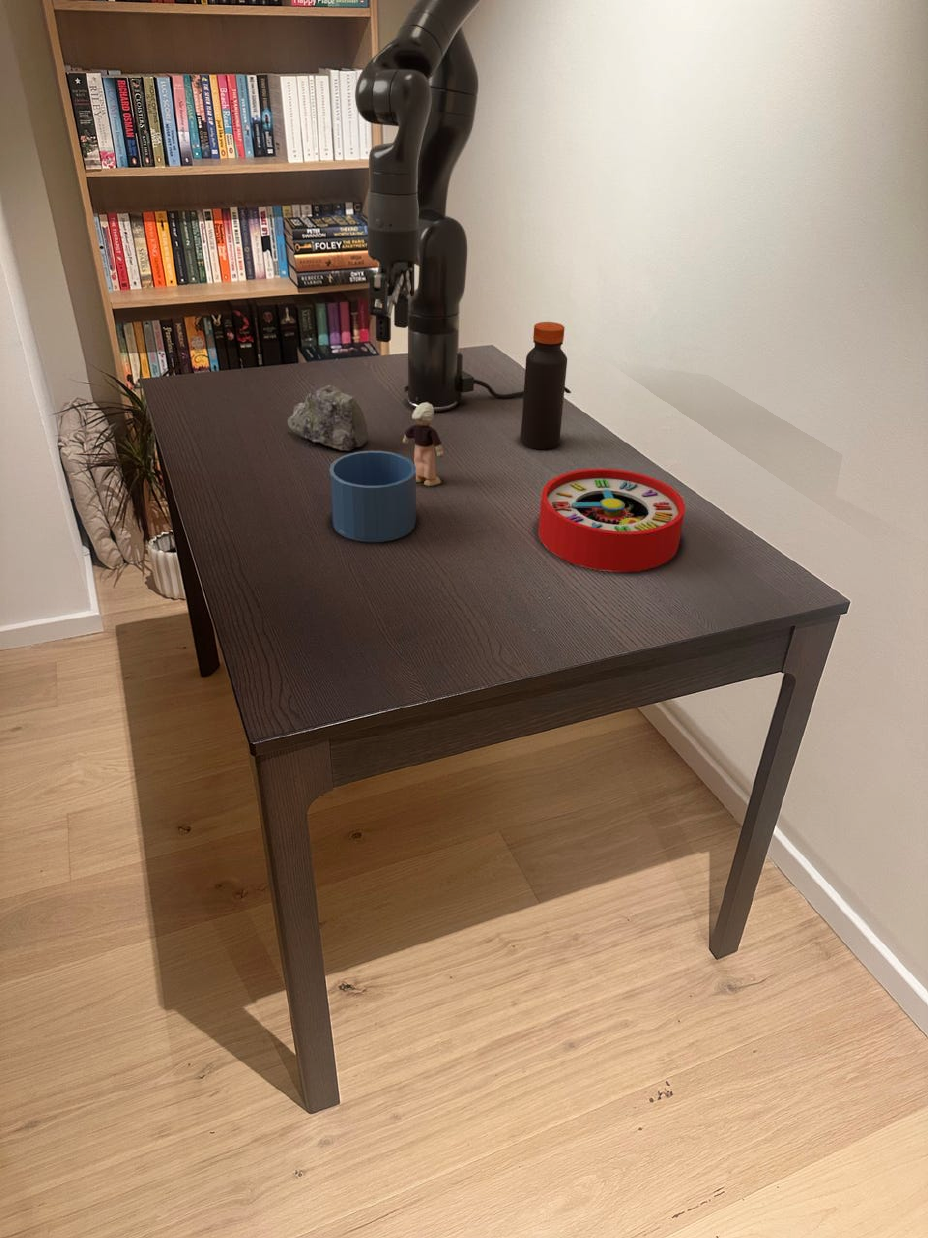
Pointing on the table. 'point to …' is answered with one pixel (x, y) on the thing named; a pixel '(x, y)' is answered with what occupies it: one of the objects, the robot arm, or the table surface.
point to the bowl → (373, 496)
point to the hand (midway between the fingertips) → (392, 333)
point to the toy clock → (611, 519)
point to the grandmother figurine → (424, 444)
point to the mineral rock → (330, 419)
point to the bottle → (544, 387)
